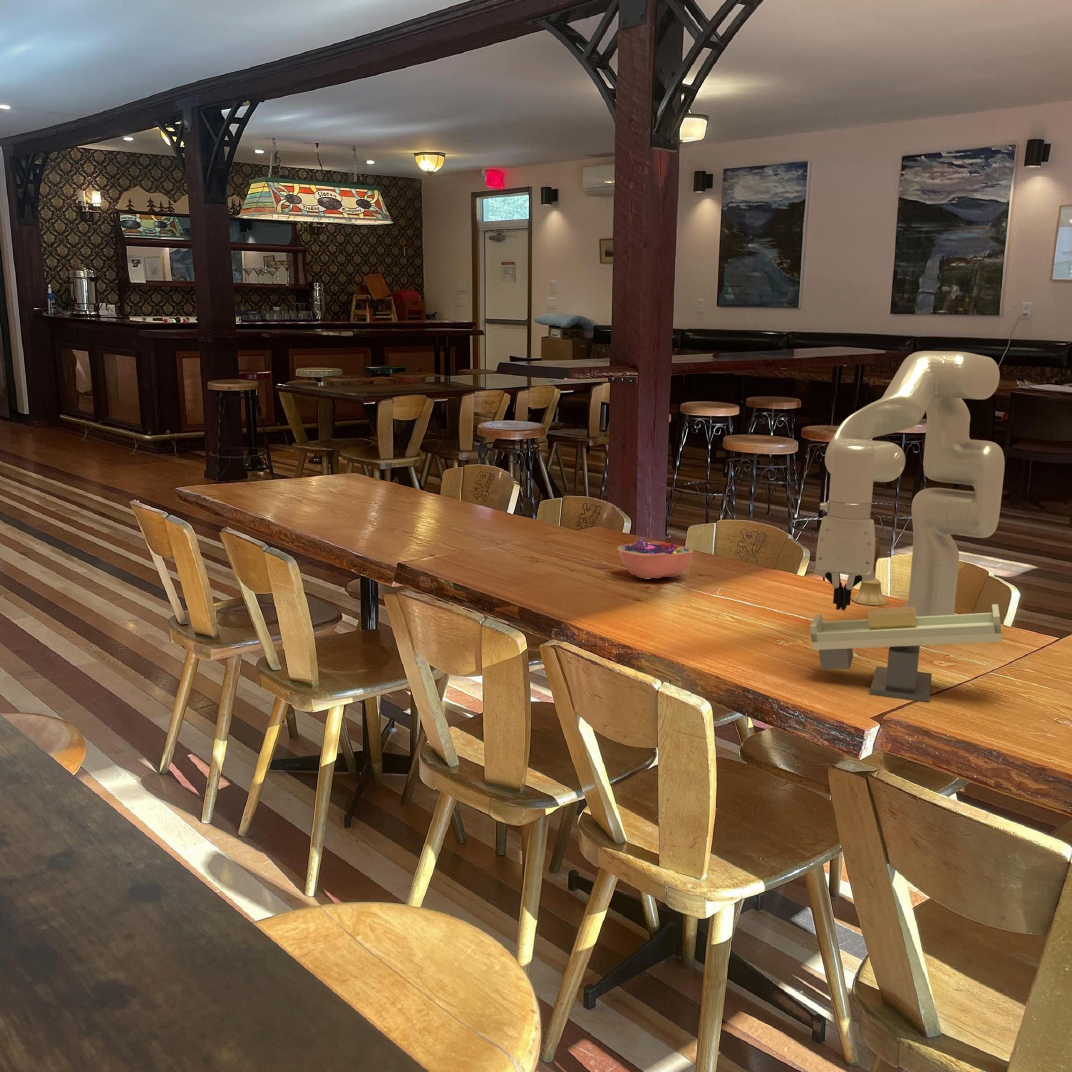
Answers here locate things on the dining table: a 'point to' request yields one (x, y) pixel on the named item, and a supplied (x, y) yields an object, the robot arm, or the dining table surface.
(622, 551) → the cell model
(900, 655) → the pivot stand
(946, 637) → the balance beam
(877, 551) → the hand bell
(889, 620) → the block
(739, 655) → the dining table surface
